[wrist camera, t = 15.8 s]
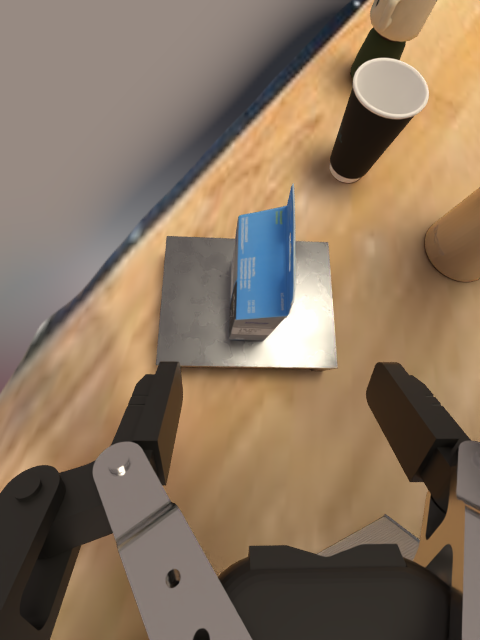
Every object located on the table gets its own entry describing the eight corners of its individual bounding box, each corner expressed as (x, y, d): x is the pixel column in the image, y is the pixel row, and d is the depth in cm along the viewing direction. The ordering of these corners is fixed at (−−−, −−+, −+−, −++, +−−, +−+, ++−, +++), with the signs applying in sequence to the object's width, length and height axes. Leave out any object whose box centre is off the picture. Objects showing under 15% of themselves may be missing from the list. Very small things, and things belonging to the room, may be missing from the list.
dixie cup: (383, 184, 39) (443, 107, 28) (331, 198, 38) (374, 123, 27) (359, 140, 41) (407, 51, 30) (309, 152, 40) (341, 64, 29)
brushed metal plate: (316, 258, 36) (328, 242, 32) (323, 370, 32) (337, 367, 28) (173, 253, 35) (166, 236, 31) (164, 368, 31) (155, 365, 27)
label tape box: (231, 260, 30) (236, 176, 19) (268, 262, 31) (297, 180, 19) (228, 340, 28) (231, 303, 16) (268, 342, 28) (300, 306, 17)
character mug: (368, 48, 45) (423, -83, 33) (405, 71, 45) (476, -54, 32) (330, 86, 43) (374, -41, 30) (368, 111, 42) (430, -8, 30)
